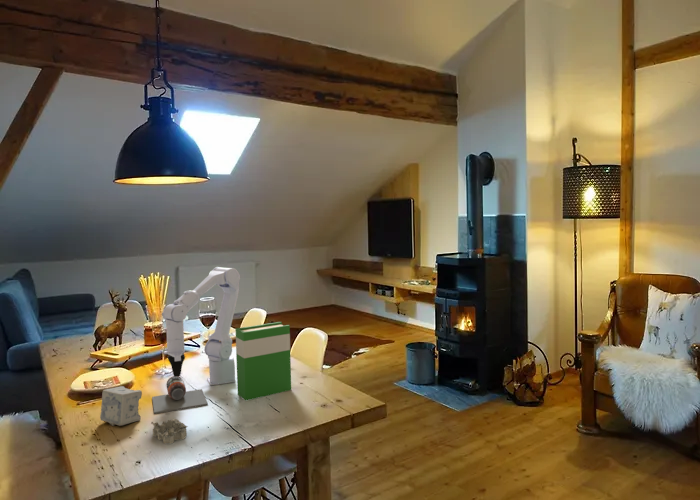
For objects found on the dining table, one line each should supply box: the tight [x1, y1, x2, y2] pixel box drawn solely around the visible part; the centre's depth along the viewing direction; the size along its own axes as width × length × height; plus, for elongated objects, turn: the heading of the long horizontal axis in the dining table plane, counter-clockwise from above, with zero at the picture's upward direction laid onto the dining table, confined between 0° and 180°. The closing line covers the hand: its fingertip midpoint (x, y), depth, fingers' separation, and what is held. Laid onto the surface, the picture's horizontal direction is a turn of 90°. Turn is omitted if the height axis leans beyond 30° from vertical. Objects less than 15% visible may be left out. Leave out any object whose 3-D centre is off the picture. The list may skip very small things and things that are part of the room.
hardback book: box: [234, 321, 292, 402], centre depth 180 cm, size 18×7×24 cm, turn 124°
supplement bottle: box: [165, 375, 187, 400], centre depth 175 cm, size 6×6×11 cm
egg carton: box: [150, 418, 189, 445], centre depth 146 cm, size 11×8×4 cm
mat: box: [151, 388, 209, 415], centre depth 172 cm, size 17×15×1 cm
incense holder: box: [99, 385, 143, 427], centre depth 157 cm, size 10×8×10 cm
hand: (177, 375), depth 177 cm, fingers closed
